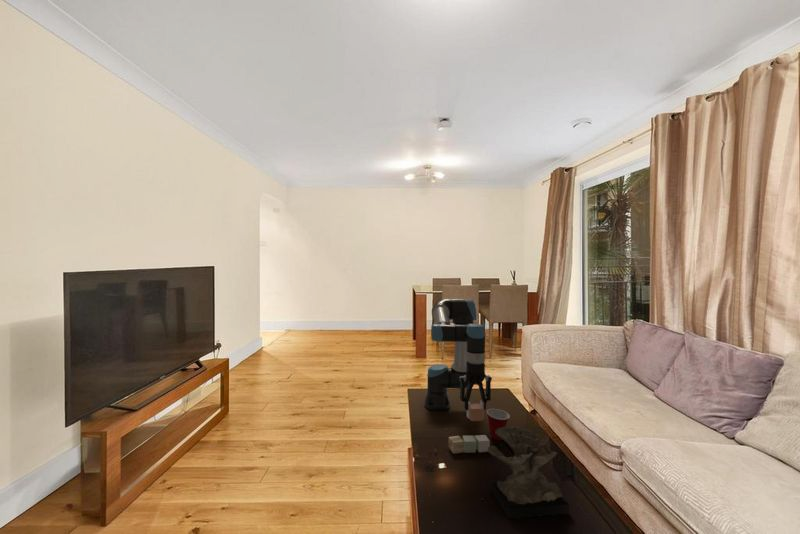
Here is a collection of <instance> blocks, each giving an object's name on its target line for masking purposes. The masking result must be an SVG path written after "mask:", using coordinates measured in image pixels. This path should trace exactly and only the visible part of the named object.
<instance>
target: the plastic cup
mask: <svg viewBox="0 0 800 534" xmlns="http://www.w3.org/2000/svg"><path fill="white" fill-rule="evenodd" d="M486 414H487V420H488V426H489V431H490V432H489V433H490V438H491V439H493V440H495V441H502V440H503V439H501V438H500V437H499V436H497V435H496V434H495V430H496V429H498V428H501V427H507V424H508V420H509V419H510V417H511V416H510V414H509V413H508V412H507V411H505V410H502V409H499V408H498V409H497V408H489V409H486ZM503 441H504V440H503Z"/></svg>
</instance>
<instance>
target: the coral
mask: <svg viewBox="0 0 800 534" xmlns="http://www.w3.org/2000/svg"><path fill="white" fill-rule="evenodd" d="M495 434H496V435H497V436H499V437H500V438H501V439H503V441H504V442H505V443H506V444H507V445H508V447H509V448H510V449H511V450H512V451H513V454H514V455H513V456H508V457H507V456H506V455H505V454H504V453H503V452H502V451H500V450H499V449H498V447H497V446H495V445H490V447H488V451H489V452H488V453H489V454H490V455H492V456H493V457H495V458H497V459H498V460H499V461H501V462H502V463H504V464H506V465H508V466H509V467H510V470H511V471H512V474H510V475H507V478H506V480H498V481H492V483H491V485H492V486H491V489H492V490H491V491H492V493H493V495H494V496H495V498H496V500H497V502H498V504H499V505H500V507H501V508H502V510H503V512H504V513H505V515H506V517H507V518H515V519H518V518H517V517H527V518H530V517H529V516H539V515H540V516H539V517H542V516H541V515H551V516H558V515H557V514H563V515H569V514H570V503H569V502H568V501H567V500H566V499H565V497H564V496H563V493H562V491H561V489H560V487H559V486H558V483H556V482H551V481H550V480H549V479H548V478H547V477H546V476H545V475H544V474H543V473H542V472H541V471H539V469H540V468H541V467H542V466H544V465H546V464H547V463H549V462H550V461H551V460H552V459H554V457H556V455H558V453H557V452H556V451H552V452H550V453H549V454H546V455H541V454H540V455H537V454H538V453H540V452H541V450H542V449H543V448H544V447H545V446H546V445H547V444H548V441H549V440H548V439H547V438H543V439H542V440H541V441H540V443H539V444H538V442H539V440H540V437H541V436H540V434H539V433H537V432H535V431H534V430H533V431H532V430H530V429H521V428H519V427H517V426H513V427H510V426H506V427H501V428H498V429H496V430H495ZM537 445H538V446H537ZM532 461H533V462H532ZM532 463H533V464H532ZM554 514H555V515H554Z"/></svg>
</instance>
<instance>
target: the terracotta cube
mask: <svg viewBox="0 0 800 534" xmlns="http://www.w3.org/2000/svg"><path fill="white" fill-rule="evenodd" d="M469 420H470V422H483V421H484V418H483V408H482V407H481V406H480V403H470V419H469Z"/></svg>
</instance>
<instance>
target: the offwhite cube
mask: <svg viewBox="0 0 800 534" xmlns="http://www.w3.org/2000/svg"><path fill="white" fill-rule="evenodd" d="M474 438H475V441H476V451H478V453H487V452H488V453H489V451H488V447H490V446H491V445H490V443H491V440H490V439H489V438H488V436H487V435H486V434H480V435H474Z"/></svg>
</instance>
